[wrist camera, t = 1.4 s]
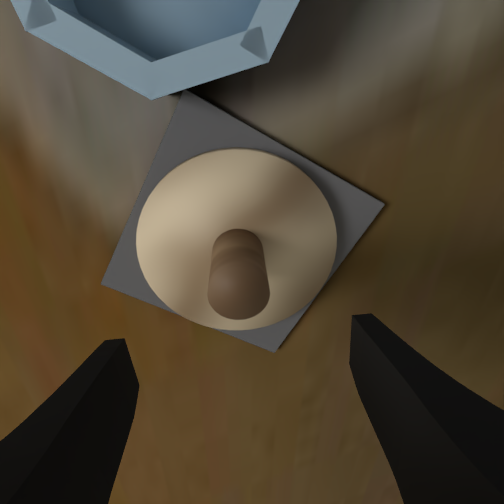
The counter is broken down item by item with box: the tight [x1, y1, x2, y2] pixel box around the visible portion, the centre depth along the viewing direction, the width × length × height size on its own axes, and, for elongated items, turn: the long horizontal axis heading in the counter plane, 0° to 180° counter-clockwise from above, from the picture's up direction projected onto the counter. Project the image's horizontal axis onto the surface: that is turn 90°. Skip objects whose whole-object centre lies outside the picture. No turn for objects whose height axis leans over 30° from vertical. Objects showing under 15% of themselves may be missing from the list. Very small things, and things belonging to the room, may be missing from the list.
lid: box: [136, 147, 337, 330], centre depth 18 cm, size 11×11×5 cm
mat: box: [101, 89, 385, 353], centre depth 20 cm, size 12×12×1 cm
